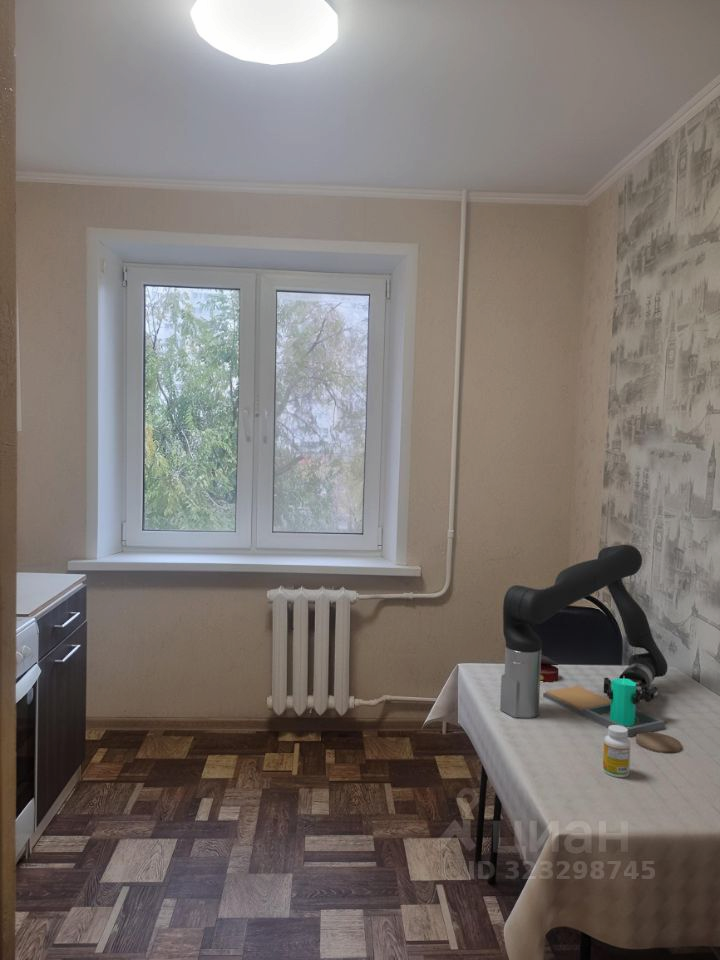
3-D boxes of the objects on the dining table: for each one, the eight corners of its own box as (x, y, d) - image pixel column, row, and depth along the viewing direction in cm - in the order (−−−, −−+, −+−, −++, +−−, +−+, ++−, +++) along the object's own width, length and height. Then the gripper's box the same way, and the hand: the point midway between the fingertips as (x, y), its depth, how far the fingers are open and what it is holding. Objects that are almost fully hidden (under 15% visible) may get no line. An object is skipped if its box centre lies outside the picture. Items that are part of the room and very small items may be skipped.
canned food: (523, 690, 218) (514, 658, 222) (551, 684, 221) (542, 652, 225) (540, 684, 208) (530, 650, 212) (569, 678, 211) (559, 645, 215)
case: (627, 737, 173) (628, 729, 172) (543, 696, 199) (543, 690, 199) (664, 728, 179) (664, 721, 178) (577, 690, 205) (577, 684, 205)
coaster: (661, 756, 162) (661, 752, 162) (626, 739, 171) (626, 736, 171) (690, 748, 167) (690, 745, 167) (655, 732, 176) (655, 729, 176)
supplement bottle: (608, 764, 157) (610, 721, 157) (632, 771, 154) (634, 728, 153) (599, 772, 153) (601, 728, 153) (624, 780, 150) (626, 735, 149)
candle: (619, 727, 178) (620, 680, 178) (605, 718, 184) (606, 672, 184) (639, 725, 180) (641, 678, 179) (625, 716, 186) (626, 671, 185)
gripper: (609, 661, 198) (594, 677, 183) (664, 671, 190) (653, 689, 176) (608, 688, 198) (592, 706, 184) (663, 699, 190) (651, 718, 176)
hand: (622, 697), depth 180 cm, fingers closed on candle, 5 cm apart
